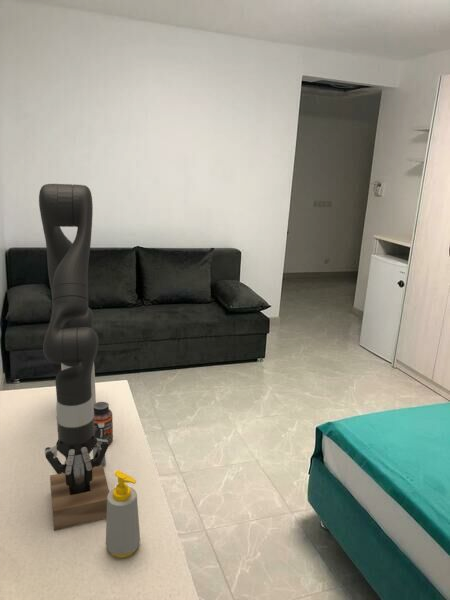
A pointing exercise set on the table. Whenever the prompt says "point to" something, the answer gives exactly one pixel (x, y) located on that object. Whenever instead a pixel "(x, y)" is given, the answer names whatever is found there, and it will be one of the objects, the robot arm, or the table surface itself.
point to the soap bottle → (122, 518)
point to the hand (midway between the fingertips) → (79, 483)
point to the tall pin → (79, 474)
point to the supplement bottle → (103, 421)
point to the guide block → (79, 500)
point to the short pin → (103, 458)
